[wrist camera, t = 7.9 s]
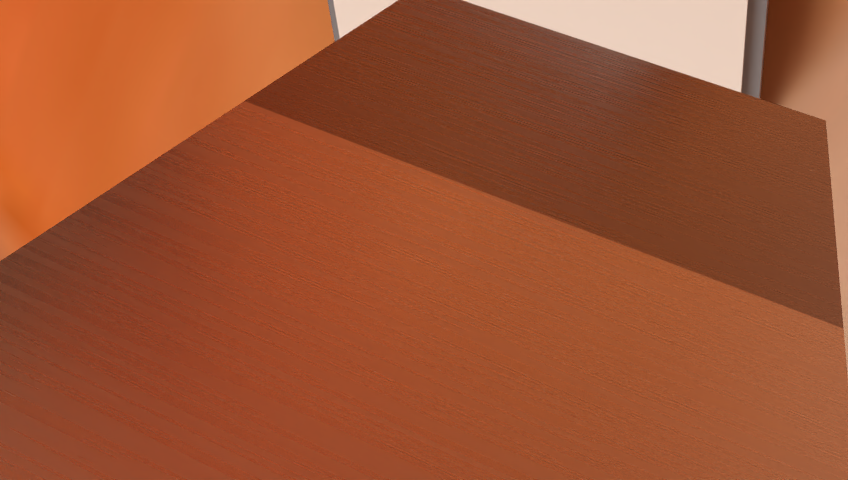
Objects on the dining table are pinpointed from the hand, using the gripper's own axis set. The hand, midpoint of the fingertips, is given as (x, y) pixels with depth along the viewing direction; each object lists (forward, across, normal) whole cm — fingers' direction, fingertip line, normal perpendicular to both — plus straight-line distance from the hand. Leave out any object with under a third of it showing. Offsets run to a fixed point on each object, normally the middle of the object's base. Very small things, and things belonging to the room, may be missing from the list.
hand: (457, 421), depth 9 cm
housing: (+3, 0, 0) cm, 3 cm away
